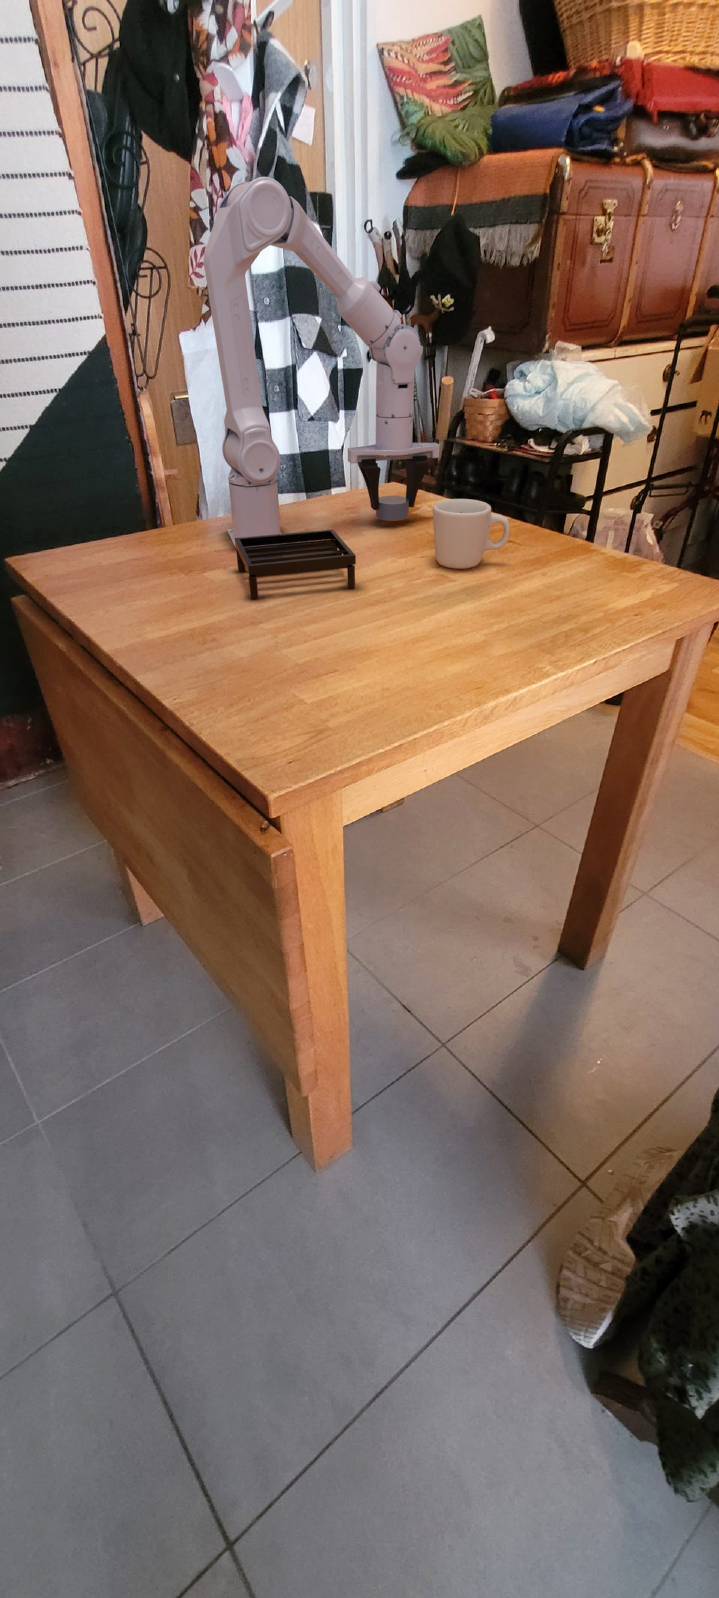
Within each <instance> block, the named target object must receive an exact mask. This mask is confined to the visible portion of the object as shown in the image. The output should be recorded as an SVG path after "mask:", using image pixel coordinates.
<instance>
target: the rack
mask: <svg viewBox="0 0 719 1598" xmlns="http://www.w3.org/2000/svg"><path fill="white" fill-rule="evenodd" d="M284 543H287V544H284ZM273 544H276V545H273ZM262 545H266V546H262ZM251 546H255V547H251ZM235 547H236V548H235ZM234 548H235V550H236V561H237V571H238V573H245V572H247V573H248V586H249V596H250V599H251V600H255V601H256V600H258V599H259V589H258V579H257V578H264V577H272V576H273V577H275V576H283V575H293V574H303V573H314V572H322V571H323V572H325V571H333V570H343V569H346V571H347V572H346V574H347V589H348V590H354V589H356V564H357V556H356V554H355V553H354V552H353V550H352V549H351V548H350V547H349V546H348V545H347V544H346V543H345V541H344V540H343V539H342V537H340V535H338V533H337V532H336V531H335V530H334V529H323V530H311V531H300V532H289V533H282V534H276V535H264V536H253V537H242V538H235V546H234Z"/></svg>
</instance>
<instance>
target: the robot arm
mask: <svg viewBox="0 0 719 1598" xmlns="http://www.w3.org/2000/svg"><path fill="white" fill-rule="evenodd" d="M270 246H271V247H276V248H278V249H283V250H286V251H289V252H293V253H294V254H295V255H296V256H297V257H298V258H299V259H300V260H301V261H302V262H303V263H304V264H305V266H307V268H308V269H310V271H311V272H312V273H313V274H315V276H316V277H317V278H318V279H319V280H320V281H321V283H323V284H324V285H325V286H326V287H327V288H328V289H329V290H330V292H331V293H332V294H333V295H334V296H335V297H336V304H337V312H338V314H339V316H340V317H341V318H342V319H343V321H344V322H346V324H347V325H348V326H349V327H350V328H351V329H352V331H353V332H354V333H355V334H356V335H357V336H358V337H359V338H360V340H361V341H362V342H363V343H364V344H365V345H366V346H367V347H368V352H369V356H370V358H371V360H372V361H375V362H376V363H375V364H376V365H375V367H376V368H375V370H376V371H375V372H376V374H375V375H376V376H375V377H376V380H375V444H369V445H363V446H362V445H361V446H353V447H347V462H348V463H350V464H352V465H353V464H357V466H358V468H359V470H360V473H361V475H362V478H363V480H364V483H365V486H366V489H367V492H368V497H369V503H370V508H371V509H372V510H373V511H376V510H378V509H379V497H380V494H379V493H380V491H379V489H380V478H381V470H382V469H381V468H380V466H378V464H379V463H378V462H381V461H395V460H396V461H397V460H404V461H405V473H406V474H405V475H406V487H405V497H406V498H408V499H409V508H414V507H415V503H416V500H417V495H418V492H419V489H420V486H421V484H422V482H423V479H424V477H425V475H426V473H427V472H428V471H429V468H430V460H428V458H431V459H439V458H440V444H439V443H436V442H413V435H414V434H413V432H414V431H413V428H414V399H415V397H414V396H415V373H416V369H417V365H418V364H419V363H420V361H421V358H422V356H423V352H424V346H423V345H421V342H420V336H419V334H418V332H417V331H416V330H415V329H414V328H413V327H412V326H411V325H409V324H404V323H403V324H402V317H403V315H402V314H401V313H400V311H399V310H397V309H393V307H391V305H390V304H389V303H388V302H387V300H386V299H385V298H384V297H383V295H381V293H380V291H381V289H382V288H381V286H380V284H379V283H378V282H377V281H376V280H369V279H368V277H354V276H353V274H352V273H351V271H350V270H349V269H348V267H347V266H346V264H344V262H343V261H342V260H341V258H340V257H339V256H338V255H337V253H336V251H335V250H334V249H333V248H332V246H331V245H330V244H329V242H328V241H327V240H326V238H325V237H324V236H323V235H322V233H321V232H320V231H319V229H318V228H317V227H316V225H315V224H314V223H313V222H312V220H311V219H310V218H309V216H308V214H307V213H306V212H305V210H304V209H303V207H302V205H301V204H300V203H299V202H298V201H297V200H296V199H295V198H294V197H293V196H289V195H288V192H287V191H286V189H285V188H284V187H283V185H282V184H281V183H280V182H279V181H278V180H276V179H274V178H272V177H268V176H261V177H257V178H255V179H253V180H252V181H248V182H245V181H244V182H239V183H236V184H235V185H233V186H231V188H230V189H229V190H228V191H227V193H226V194H225V195H224V196H223V198H222V199H220V201H219V202H218V204H217V206H216V215H215V219H214V222H213V225H212V228H211V231H210V235H209V238H208V240H207V244H206V247H205V250H204V253H203V269H204V272H205V273H204V274H205V280H206V281H205V282H206V288H207V293H208V294H207V295H208V300H209V306H210V312H211V318H212V325H213V331H214V337H215V343H216V348H217V357H218V363H219V369H220V370H219V371H220V375H221V382H222V388H223V394H224V400H225V408H226V411H225V415H224V419H223V425H224V437H223V441H222V447H221V448H222V455H223V459H224V461H225V462H226V464H227V465H228V466H229V467H230V471H229V473H228V476H227V480H228V489H229V498H230V500H229V501H230V508H231V509H230V510H231V519H232V528H229V529H227V534H228V535H229V538H230V540H231V542H232V544H233V546H234V548H235V549H236V547H235V538H242V537H253V536H264V535H276V534H283V532H282V531H281V517H280V505H279V504H280V503H279V490H278V489H279V488H278V476H277V473H278V472H279V470H280V467H281V453H280V450H279V448H278V446H277V445H276V443H275V442H274V440H273V437H272V433H271V426H270V423H269V421H268V418H267V415H266V413H265V410H264V408H263V407H264V406H263V401H262V394H261V393H262V392H261V385H260V378H259V371H258V363H257V356H256V348H255V341H254V340H255V339H254V333H253V326H252V319H251V318H252V317H251V309H250V301H249V295H248V287H247V280H246V279H247V278H246V274H247V272H248V271H249V269H250V267H251V266H252V265H253V264H254V262H255V260H257V258H258V257H259V256H260V254H261V252H263V251H264V250H265V249H266V248H268V247H270ZM284 544H287V543H284ZM273 545H276V544H273ZM262 546H266V545H262ZM251 547H255V546H251Z"/></svg>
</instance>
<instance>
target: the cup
mask: <svg viewBox="0 0 719 1598" xmlns="http://www.w3.org/2000/svg"><path fill="white" fill-rule="evenodd" d="M432 521H433V522H432V523H433V541H434V555H435V559H436V561H437V563H438V564H440V565H441V566H443V567H445V568H447V569H449V568H450V569H456V570H463V569H471V568H474V567H477V566H478V565H479V564H480V563H481V561H482V559H483V556H484V553H485V552H486V551H496V550H501V549H502V548H504V546H506V544H507V543H508V540H509V538H510V534H511V525H510V522H509V519H508V518H506V517H505V516H504V515H502V514H499V513H495V512H492V507H491V505H490V504H489V503H487V502H486V501H481V500H477V499H469V498H451V499H450V498H449V499H445V500H440V501H438V502H436V503H434V504H433V506H432ZM497 523H499V524H501V525H502V526H503V534H502V537H501V539H500V540H498V541H497V542H496V541H495V542H493V541H492V540H491V538H490V531H491V528H492V527H493V525H494V524H497Z"/></svg>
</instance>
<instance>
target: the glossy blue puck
mask: <svg viewBox="0 0 719 1598" xmlns="http://www.w3.org/2000/svg"><path fill="white" fill-rule="evenodd" d="M409 517H410V507H409V499H408V498H406V496H402V495H383V496H379V509H378V510H375V518H376V519H378V520H381V521H387V522H398V521H404V520H407V519H408V518H409Z"/></svg>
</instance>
